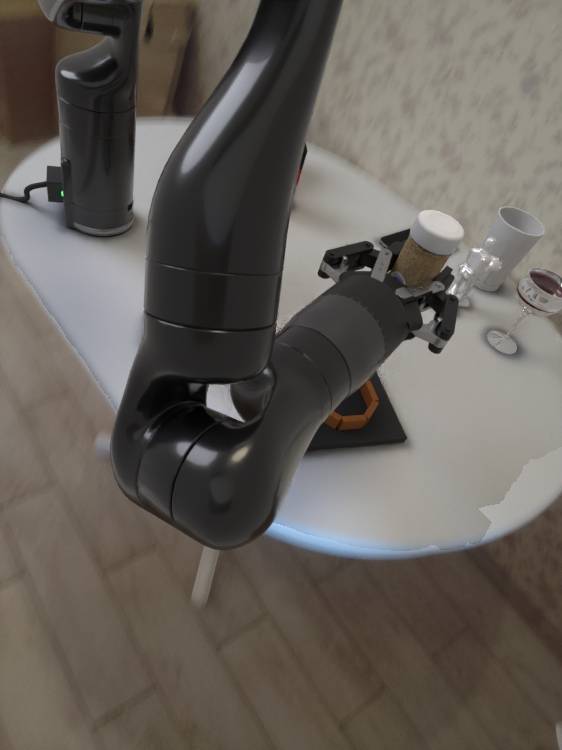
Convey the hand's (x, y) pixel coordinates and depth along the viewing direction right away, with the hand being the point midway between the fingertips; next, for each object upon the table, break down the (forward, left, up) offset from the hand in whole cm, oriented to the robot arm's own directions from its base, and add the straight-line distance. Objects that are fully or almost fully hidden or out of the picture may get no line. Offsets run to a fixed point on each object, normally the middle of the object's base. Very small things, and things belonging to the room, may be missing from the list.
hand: (424, 261), depth 52 cm
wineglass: (+28, +7, -20) cm, 35 cm away
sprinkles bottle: (-2, -2, -8) cm, 8 cm away
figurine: (+24, +16, -20) cm, 35 cm away
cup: (+33, +22, -20) cm, 44 cm away
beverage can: (-1, +41, -20) cm, 45 cm away
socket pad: (-4, -3, -20) cm, 20 cm away
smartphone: (+24, +31, -20) cm, 44 cm away
